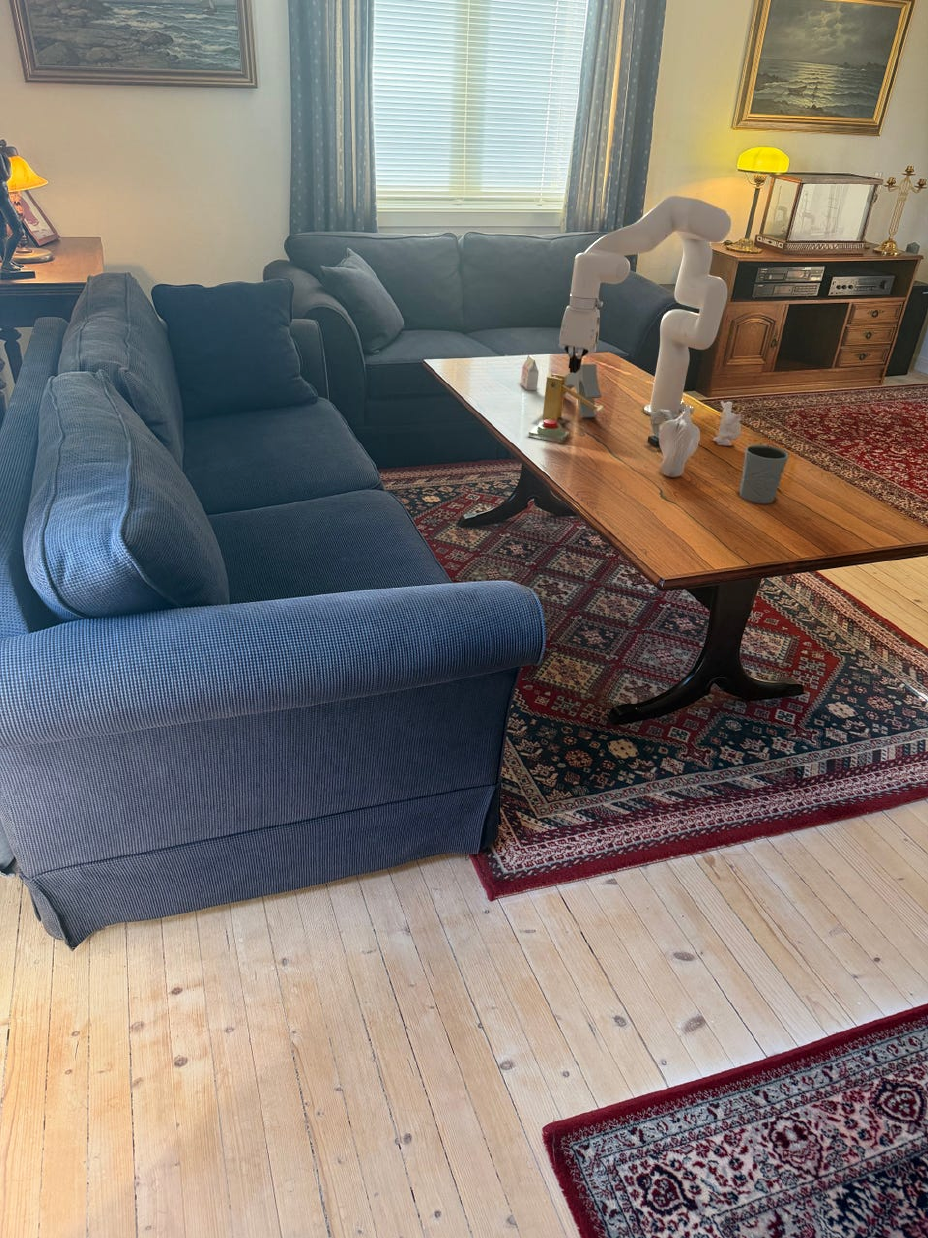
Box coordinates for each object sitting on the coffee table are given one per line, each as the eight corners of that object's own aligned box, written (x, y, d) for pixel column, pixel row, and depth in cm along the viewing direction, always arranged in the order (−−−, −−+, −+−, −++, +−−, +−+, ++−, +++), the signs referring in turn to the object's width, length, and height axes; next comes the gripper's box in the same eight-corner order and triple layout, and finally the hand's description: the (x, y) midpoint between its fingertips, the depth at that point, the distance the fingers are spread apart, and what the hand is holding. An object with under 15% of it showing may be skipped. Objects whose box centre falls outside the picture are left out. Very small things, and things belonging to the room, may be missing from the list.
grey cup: (770, 508, 206) (782, 461, 200) (730, 497, 210) (741, 452, 204) (780, 495, 213) (792, 450, 207) (741, 485, 218) (752, 441, 211)
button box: (568, 437, 242) (570, 425, 240) (561, 444, 236) (562, 432, 235) (536, 431, 245) (537, 419, 243) (528, 437, 240) (529, 425, 238)
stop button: (558, 426, 240) (559, 420, 239) (554, 430, 237) (555, 424, 236) (545, 424, 241) (546, 418, 240) (541, 427, 238) (541, 421, 237)
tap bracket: (568, 420, 255) (574, 375, 248) (559, 428, 248) (564, 382, 241) (543, 415, 258) (548, 370, 251) (534, 423, 251) (538, 377, 244)
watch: (658, 442, 243) (665, 405, 237) (674, 452, 237) (682, 414, 231) (642, 444, 241) (649, 406, 235) (658, 453, 235) (665, 415, 229)
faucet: (549, 430, 277) (585, 418, 248) (546, 378, 275) (583, 360, 246) (566, 429, 279) (604, 417, 250) (564, 378, 277) (602, 360, 248)
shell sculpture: (670, 482, 216) (683, 414, 207) (650, 471, 222) (662, 404, 213) (694, 478, 220) (709, 411, 210) (674, 467, 226) (687, 402, 216)
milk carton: (531, 383, 287) (534, 354, 282) (536, 389, 282) (539, 359, 277) (520, 384, 287) (523, 354, 281) (526, 389, 281) (529, 359, 276)
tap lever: (601, 412, 248) (605, 405, 247) (595, 416, 244) (599, 410, 242) (553, 381, 250) (556, 374, 248) (547, 385, 246) (550, 378, 244)
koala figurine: (705, 439, 247) (713, 399, 241) (723, 438, 250) (732, 398, 244) (723, 449, 241) (732, 408, 235) (741, 447, 243) (751, 407, 237)
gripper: (613, 305, 225) (603, 373, 235) (561, 297, 230) (552, 364, 239) (606, 309, 219) (595, 379, 229) (552, 301, 224) (544, 370, 233)
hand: (573, 371), depth 234 cm, fingers closed
